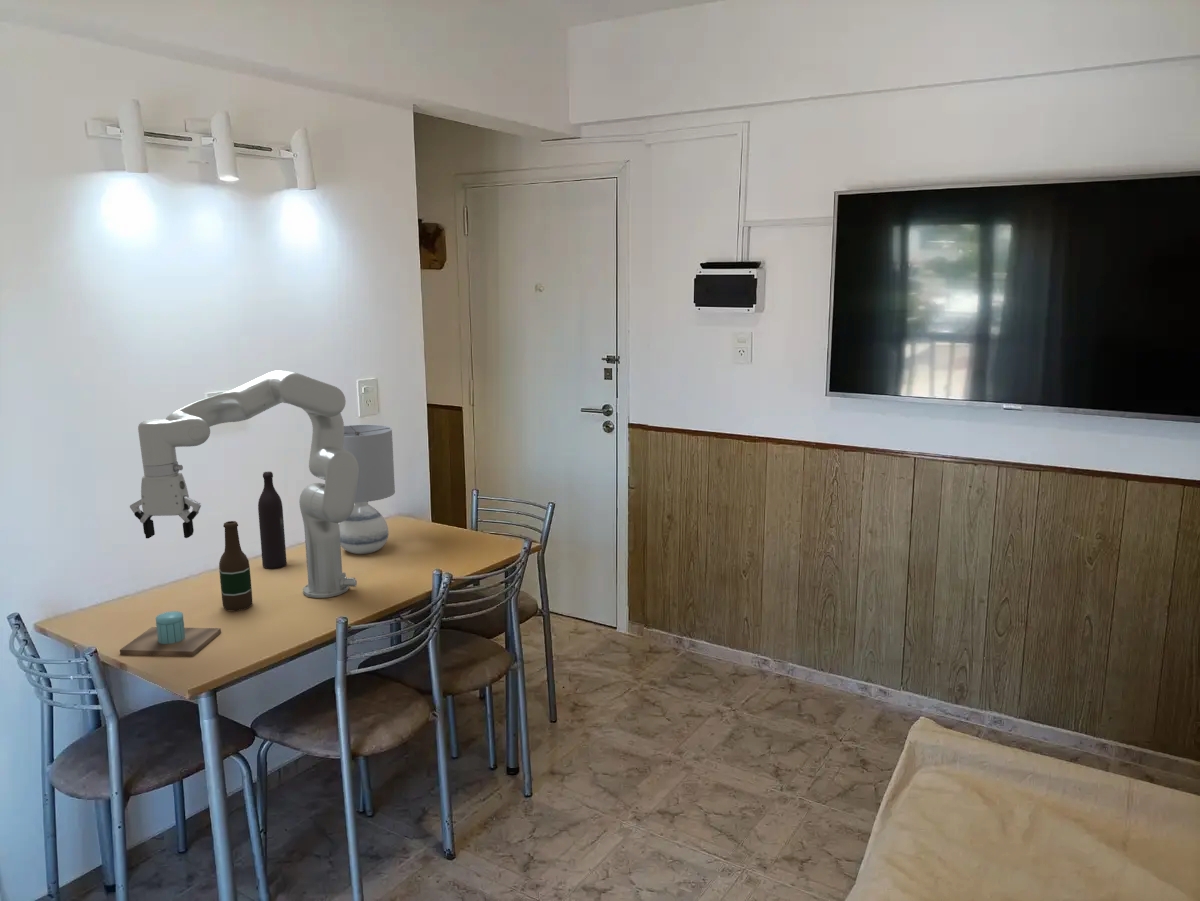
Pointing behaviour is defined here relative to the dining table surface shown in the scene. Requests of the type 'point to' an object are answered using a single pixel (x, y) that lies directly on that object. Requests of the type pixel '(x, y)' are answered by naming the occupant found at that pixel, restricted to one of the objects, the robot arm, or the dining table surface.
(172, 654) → the post board
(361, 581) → the dining table surface
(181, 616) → the cap
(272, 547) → the wine bottle
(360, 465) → the lamp
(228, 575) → the beer bottle
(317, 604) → the dining table surface
